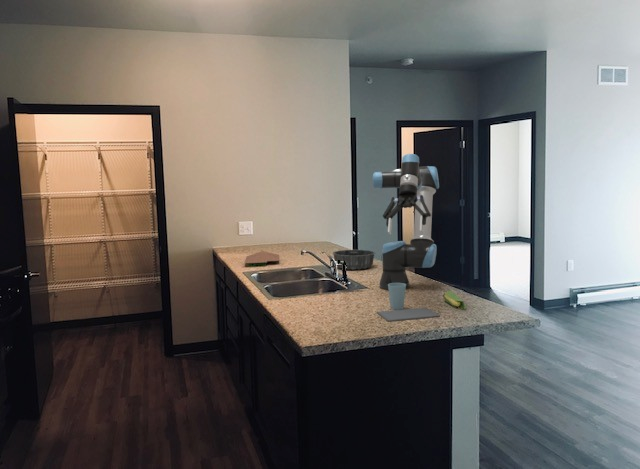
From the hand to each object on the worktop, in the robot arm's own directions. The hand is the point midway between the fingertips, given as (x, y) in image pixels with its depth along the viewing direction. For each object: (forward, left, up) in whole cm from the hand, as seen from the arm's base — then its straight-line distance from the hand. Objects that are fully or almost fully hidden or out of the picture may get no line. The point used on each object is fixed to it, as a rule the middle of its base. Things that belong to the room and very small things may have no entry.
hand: (405, 232), depth 224 cm
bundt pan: (-109, +9, -34) cm, 114 cm away
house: (-153, -43, -34) cm, 163 cm away
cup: (-5, -2, -33) cm, 34 cm away
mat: (+7, -2, -33) cm, 34 cm away
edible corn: (-2, +23, -34) cm, 41 cm away
